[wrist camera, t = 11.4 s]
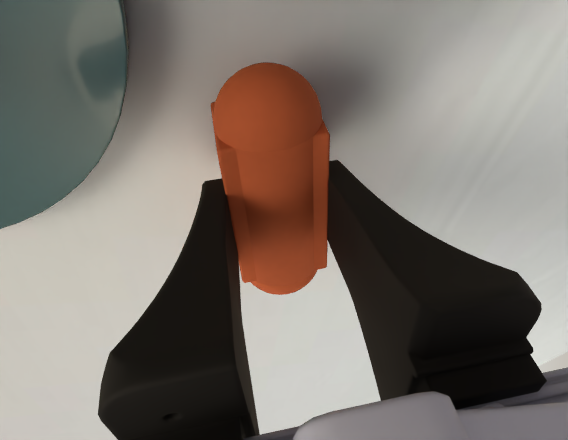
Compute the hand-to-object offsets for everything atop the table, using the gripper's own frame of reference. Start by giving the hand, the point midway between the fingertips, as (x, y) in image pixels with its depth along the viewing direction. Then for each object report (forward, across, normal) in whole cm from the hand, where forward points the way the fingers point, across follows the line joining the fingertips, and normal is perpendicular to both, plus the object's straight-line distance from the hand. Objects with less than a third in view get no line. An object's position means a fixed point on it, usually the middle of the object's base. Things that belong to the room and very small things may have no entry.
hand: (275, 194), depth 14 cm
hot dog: (+1, 0, 0) cm, 1 cm away
